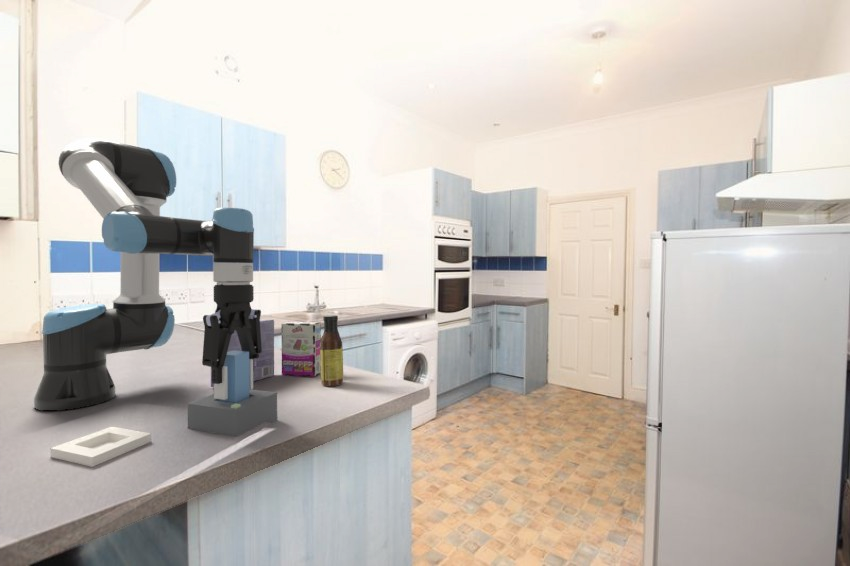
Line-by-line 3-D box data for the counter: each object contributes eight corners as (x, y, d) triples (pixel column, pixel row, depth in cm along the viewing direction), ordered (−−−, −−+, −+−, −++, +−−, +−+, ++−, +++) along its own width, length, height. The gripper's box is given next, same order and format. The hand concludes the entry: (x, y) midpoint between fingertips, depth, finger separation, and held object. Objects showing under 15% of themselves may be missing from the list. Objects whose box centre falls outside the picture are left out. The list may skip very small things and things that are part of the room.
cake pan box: (267, 373, 128) (267, 317, 127) (278, 375, 126) (278, 318, 125) (208, 388, 111) (208, 324, 111) (219, 391, 109) (219, 325, 108)
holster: (50, 462, 68) (50, 448, 68) (112, 439, 78) (112, 426, 78) (92, 472, 65) (92, 457, 65) (151, 446, 75) (150, 433, 75)
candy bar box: (321, 373, 129) (321, 321, 128) (314, 377, 124) (314, 324, 123) (288, 371, 130) (288, 320, 130) (280, 375, 125) (280, 322, 125)
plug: (219, 421, 84) (219, 353, 83) (234, 414, 88) (233, 350, 87) (235, 423, 83) (234, 355, 82) (249, 416, 86) (249, 351, 86)
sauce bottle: (347, 383, 118) (348, 315, 117) (332, 388, 112) (332, 317, 112) (331, 379, 121) (331, 313, 120) (315, 384, 116) (315, 315, 115)
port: (187, 433, 81) (187, 401, 81) (233, 413, 93) (232, 384, 92) (236, 441, 78) (236, 407, 77) (277, 419, 89) (277, 390, 89)
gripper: (210, 285, 74) (210, 410, 74) (279, 282, 92) (279, 382, 93) (178, 284, 76) (179, 406, 77) (252, 281, 95) (252, 379, 95)
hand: (234, 393), depth 85 cm, fingers open, 7 cm apart
